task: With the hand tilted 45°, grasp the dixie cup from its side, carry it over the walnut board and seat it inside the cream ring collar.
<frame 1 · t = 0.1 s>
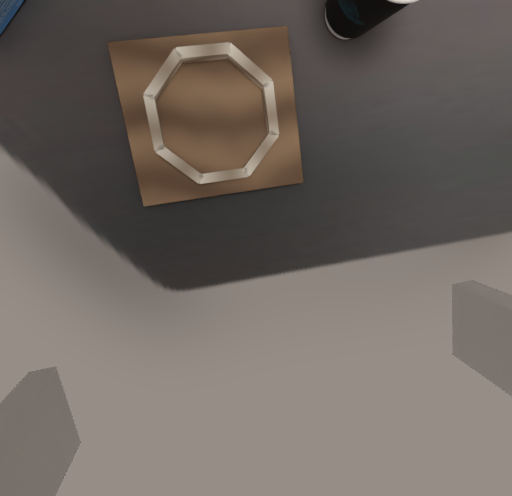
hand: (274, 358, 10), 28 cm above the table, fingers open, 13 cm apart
dixie cup: (344, 16, 35), on the table
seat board: (213, 120, 35), on the table
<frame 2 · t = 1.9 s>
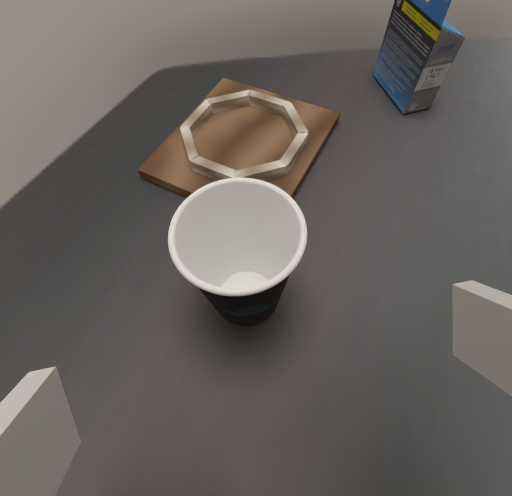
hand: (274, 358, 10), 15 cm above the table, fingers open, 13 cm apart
dixie cup: (247, 299, 28), on the table
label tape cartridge: (398, 92, 41), on the table
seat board: (244, 148, 37), on the table
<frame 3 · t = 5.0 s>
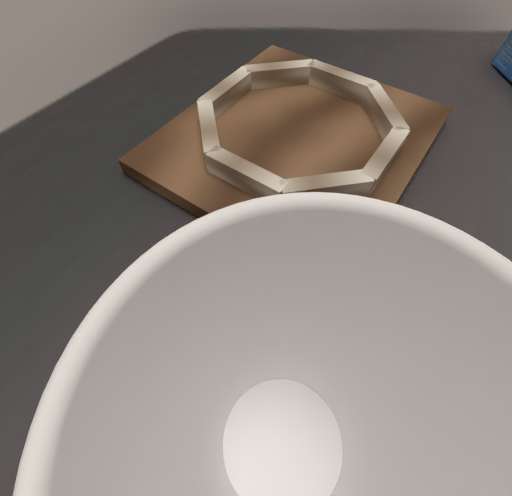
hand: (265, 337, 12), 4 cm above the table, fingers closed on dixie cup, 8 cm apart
dixie cup: (281, 442, 13), on the table, touching gripper
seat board: (295, 146, 23), on the table
when the fingers open (6 cm above the table, at t = 9.6 s): dixie cup stays where it is, resting on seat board.
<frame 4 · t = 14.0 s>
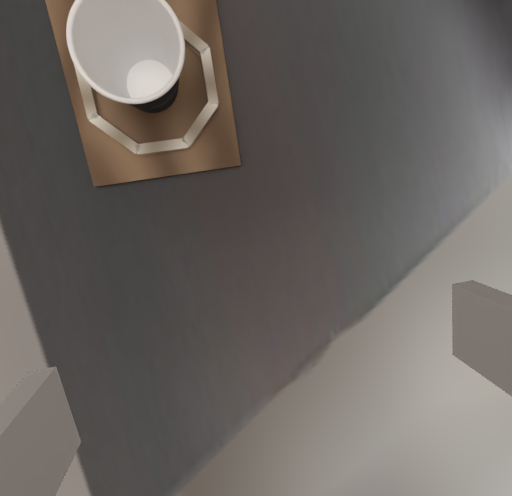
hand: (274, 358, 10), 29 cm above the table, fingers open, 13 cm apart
dixie cup: (152, 87, 33), point 1 cm above the table, touching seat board
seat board: (153, 90, 34), on the table
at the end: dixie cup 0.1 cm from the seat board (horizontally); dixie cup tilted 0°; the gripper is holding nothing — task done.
